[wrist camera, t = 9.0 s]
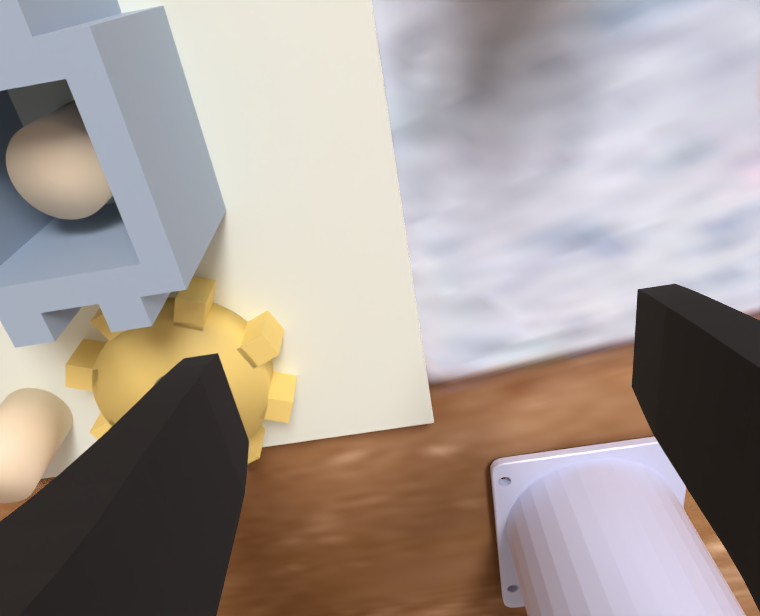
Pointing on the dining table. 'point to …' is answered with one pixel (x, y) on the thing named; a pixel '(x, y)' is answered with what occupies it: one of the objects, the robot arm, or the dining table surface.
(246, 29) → the board
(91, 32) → the ridged hollow box frame
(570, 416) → the dining table surface
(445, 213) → the dining table surface
